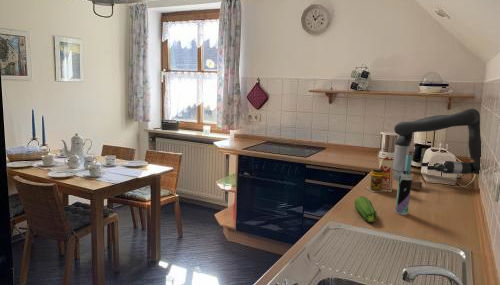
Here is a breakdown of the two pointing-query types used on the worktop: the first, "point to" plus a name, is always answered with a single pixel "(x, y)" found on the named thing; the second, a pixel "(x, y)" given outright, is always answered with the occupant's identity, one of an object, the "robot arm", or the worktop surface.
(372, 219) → the vegetable
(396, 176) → the sleeve
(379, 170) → the condiment
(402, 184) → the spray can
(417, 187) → the socket
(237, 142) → the worktop surface
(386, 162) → the milk carton
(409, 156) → the light blue flat panel
